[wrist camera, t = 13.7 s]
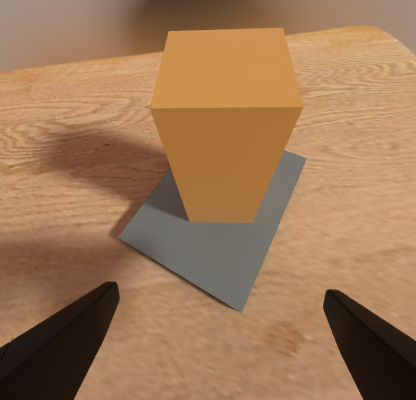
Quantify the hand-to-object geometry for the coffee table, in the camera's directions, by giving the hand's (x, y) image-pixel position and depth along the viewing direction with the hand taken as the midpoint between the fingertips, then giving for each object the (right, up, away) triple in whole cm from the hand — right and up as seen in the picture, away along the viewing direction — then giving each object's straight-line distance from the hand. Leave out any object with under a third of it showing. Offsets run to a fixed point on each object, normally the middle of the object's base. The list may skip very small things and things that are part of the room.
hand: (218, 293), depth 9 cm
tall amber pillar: (+1, +4, +11) cm, 12 cm away
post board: (+1, +4, +12) cm, 12 cm away
